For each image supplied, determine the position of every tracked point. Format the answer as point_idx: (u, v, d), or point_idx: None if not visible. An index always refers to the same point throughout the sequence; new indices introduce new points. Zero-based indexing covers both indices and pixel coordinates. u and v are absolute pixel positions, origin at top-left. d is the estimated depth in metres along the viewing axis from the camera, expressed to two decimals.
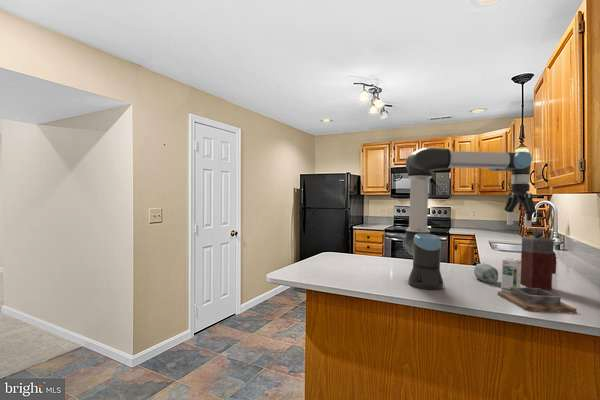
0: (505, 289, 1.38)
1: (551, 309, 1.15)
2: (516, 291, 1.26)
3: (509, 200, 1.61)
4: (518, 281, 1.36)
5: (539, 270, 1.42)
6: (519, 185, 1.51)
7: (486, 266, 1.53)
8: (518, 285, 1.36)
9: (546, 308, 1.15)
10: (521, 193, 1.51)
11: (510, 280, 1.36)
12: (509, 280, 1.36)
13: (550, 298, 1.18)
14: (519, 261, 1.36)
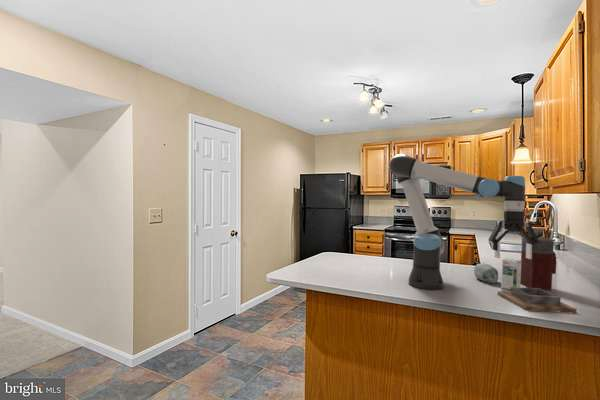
0: (505, 289, 1.38)
1: (551, 309, 1.15)
2: (516, 291, 1.26)
3: (527, 230, 1.39)
4: (518, 281, 1.36)
5: (539, 270, 1.42)
6: None
7: (486, 266, 1.53)
8: (518, 285, 1.36)
9: (546, 308, 1.15)
10: None
11: (510, 280, 1.36)
12: (509, 280, 1.36)
13: (550, 298, 1.18)
14: (519, 261, 1.36)
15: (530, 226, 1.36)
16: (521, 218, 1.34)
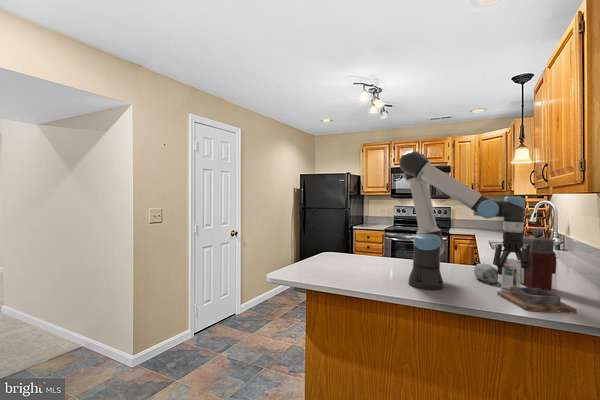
0: (505, 289, 1.38)
1: (551, 309, 1.15)
2: (516, 291, 1.26)
3: (523, 252, 1.39)
4: (518, 281, 1.36)
5: (539, 270, 1.42)
6: None
7: (486, 266, 1.53)
8: (518, 285, 1.36)
9: (546, 308, 1.15)
10: None
11: (510, 280, 1.36)
12: (509, 280, 1.36)
13: (550, 298, 1.18)
14: (519, 261, 1.36)
15: (527, 249, 1.37)
16: (520, 239, 1.34)
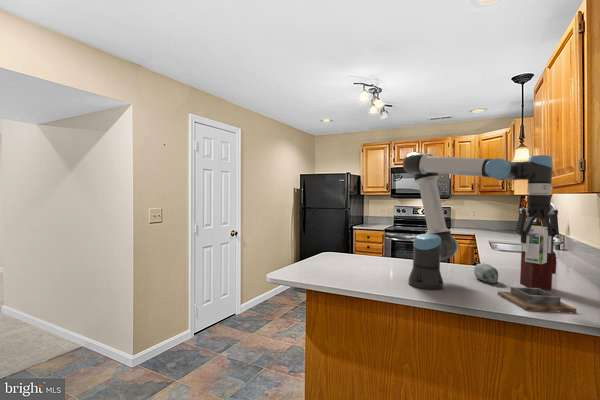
0: (530, 260, 1.22)
1: (551, 309, 1.15)
2: (516, 291, 1.26)
3: (550, 218, 1.24)
4: (545, 250, 1.21)
5: (539, 270, 1.42)
6: None
7: (486, 266, 1.53)
8: (545, 255, 1.21)
9: (546, 308, 1.15)
10: None
11: (536, 249, 1.21)
12: (534, 249, 1.21)
13: (550, 298, 1.18)
14: (546, 228, 1.21)
15: (555, 214, 1.21)
16: (547, 203, 1.19)
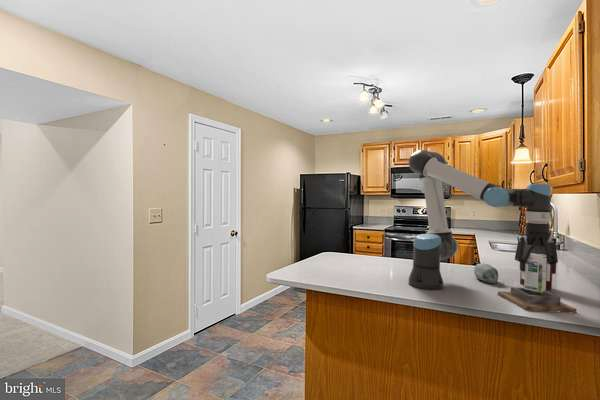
0: (529, 288, 1.22)
1: (551, 309, 1.15)
2: (516, 291, 1.26)
3: (548, 246, 1.24)
4: (544, 278, 1.21)
5: None
6: None
7: (486, 266, 1.53)
8: (544, 283, 1.21)
9: (546, 308, 1.15)
10: None
11: (535, 277, 1.21)
12: (533, 277, 1.21)
13: (550, 298, 1.18)
14: (545, 256, 1.21)
15: (554, 242, 1.22)
16: (546, 231, 1.19)
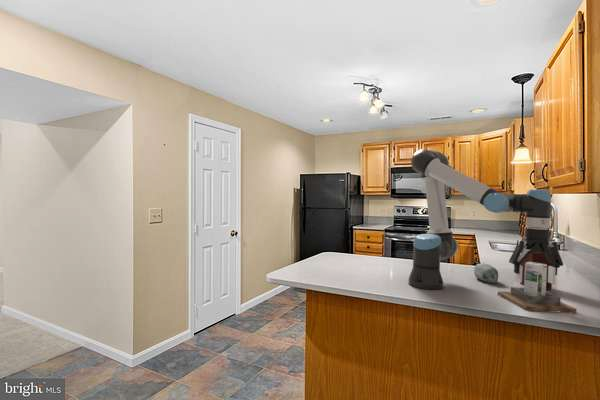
0: None
1: (551, 309, 1.15)
2: (516, 291, 1.26)
3: (550, 250, 1.24)
4: (543, 288, 1.21)
5: None
6: None
7: (486, 266, 1.53)
8: (543, 293, 1.21)
9: (546, 308, 1.15)
10: None
11: (534, 287, 1.21)
12: (533, 287, 1.22)
13: (550, 298, 1.18)
14: (544, 265, 1.21)
15: (555, 246, 1.22)
16: (546, 237, 1.19)
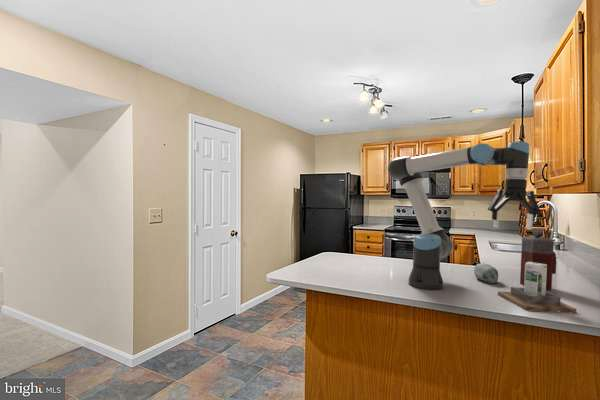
0: None
1: (551, 309, 1.15)
2: (516, 291, 1.26)
3: (529, 199, 1.32)
4: (543, 288, 1.21)
5: None
6: None
7: (486, 266, 1.53)
8: (543, 293, 1.21)
9: (546, 308, 1.15)
10: None
11: (534, 287, 1.21)
12: (533, 287, 1.22)
13: (550, 298, 1.18)
14: (544, 265, 1.21)
15: (532, 195, 1.30)
16: (523, 186, 1.28)
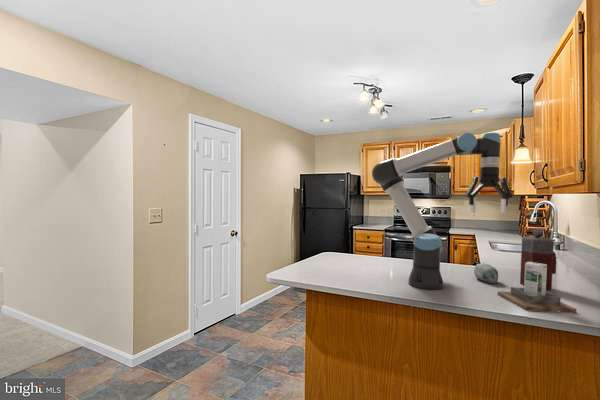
0: None
1: (551, 309, 1.15)
2: (516, 291, 1.26)
3: (502, 186, 1.45)
4: (543, 288, 1.21)
5: None
6: None
7: (486, 266, 1.53)
8: (543, 293, 1.21)
9: (546, 308, 1.15)
10: None
11: (534, 287, 1.21)
12: (533, 287, 1.22)
13: (550, 298, 1.18)
14: (544, 265, 1.21)
15: (504, 181, 1.42)
16: (496, 173, 1.40)
